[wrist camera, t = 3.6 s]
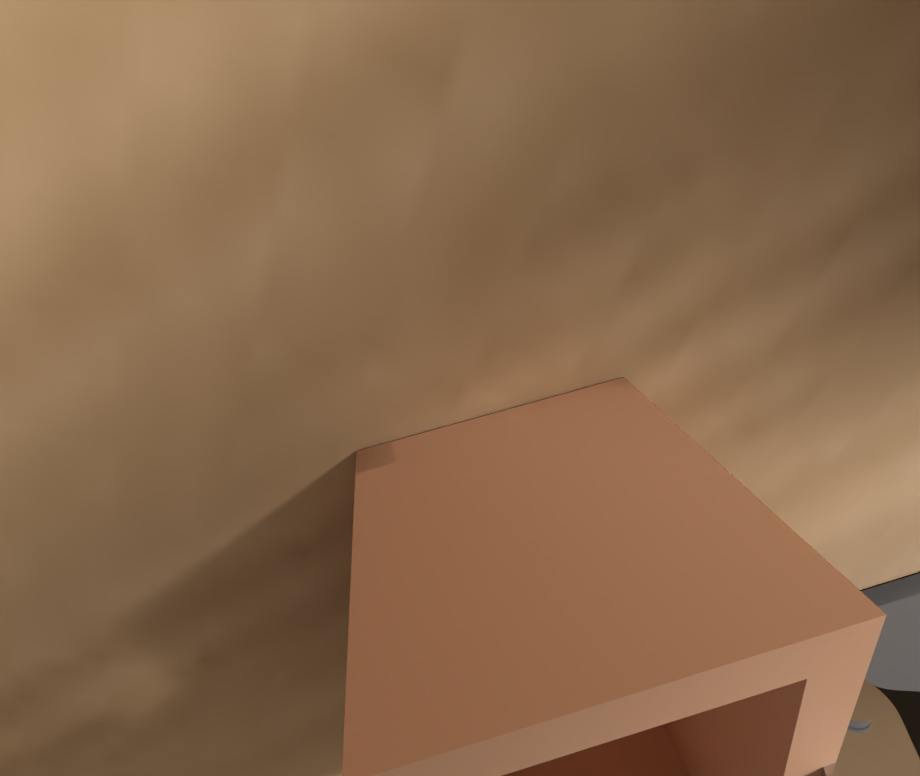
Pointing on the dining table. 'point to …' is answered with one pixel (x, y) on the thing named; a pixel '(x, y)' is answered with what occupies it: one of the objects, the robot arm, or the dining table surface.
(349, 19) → the dining table surface
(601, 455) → the terracotta crate
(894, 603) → the grey crate
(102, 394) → the dining table surface
